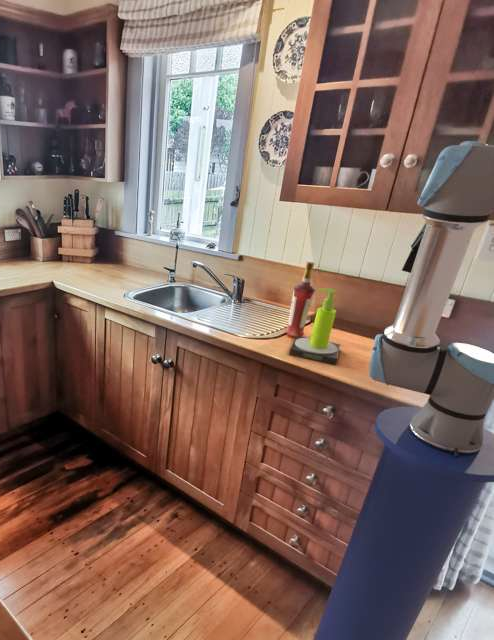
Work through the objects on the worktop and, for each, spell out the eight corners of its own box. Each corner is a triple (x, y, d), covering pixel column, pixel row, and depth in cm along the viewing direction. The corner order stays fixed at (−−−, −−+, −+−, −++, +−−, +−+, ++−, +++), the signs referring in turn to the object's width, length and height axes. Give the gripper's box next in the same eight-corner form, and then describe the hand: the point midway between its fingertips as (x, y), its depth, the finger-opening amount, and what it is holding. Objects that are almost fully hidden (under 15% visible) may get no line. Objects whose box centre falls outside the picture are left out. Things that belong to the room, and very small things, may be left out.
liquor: (285, 330, 182) (301, 259, 170) (305, 334, 179) (322, 262, 167) (282, 336, 177) (298, 262, 164) (302, 340, 174) (320, 266, 161)
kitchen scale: (335, 365, 155) (337, 357, 154) (288, 355, 161) (290, 347, 159) (338, 349, 167) (340, 342, 166) (295, 340, 173) (297, 334, 172)
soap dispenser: (311, 340, 167) (325, 285, 158) (329, 346, 162) (344, 290, 153) (303, 343, 163) (316, 288, 155) (321, 350, 159) (336, 293, 150)
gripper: (478, 205, 121) (437, 283, 129) (447, 205, 143) (413, 272, 151) (447, 197, 122) (409, 275, 130) (421, 199, 144) (390, 266, 153)
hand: (411, 274), depth 141 cm, fingers open, 13 cm apart
